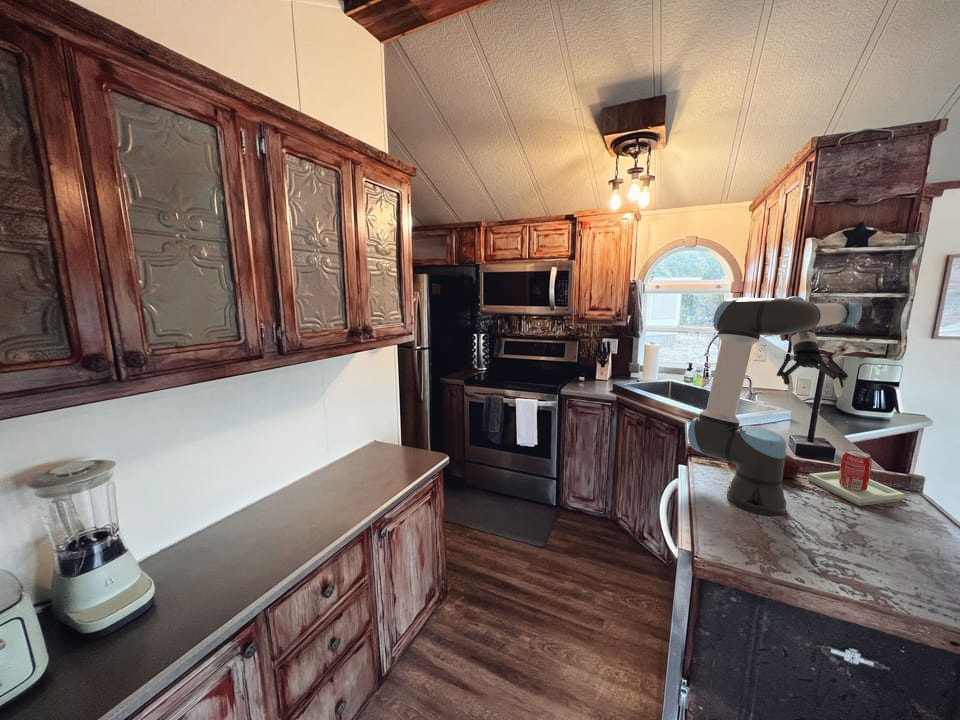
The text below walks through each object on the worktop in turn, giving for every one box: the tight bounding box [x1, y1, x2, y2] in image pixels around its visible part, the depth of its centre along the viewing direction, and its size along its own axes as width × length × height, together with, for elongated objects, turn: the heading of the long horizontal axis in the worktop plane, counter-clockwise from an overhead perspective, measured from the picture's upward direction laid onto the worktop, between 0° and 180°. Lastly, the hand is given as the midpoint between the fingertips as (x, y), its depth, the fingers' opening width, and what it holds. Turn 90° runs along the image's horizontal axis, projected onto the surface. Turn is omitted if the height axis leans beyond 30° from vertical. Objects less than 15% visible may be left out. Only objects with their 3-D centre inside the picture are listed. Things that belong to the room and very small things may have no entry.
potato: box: [783, 454, 801, 478], centre depth 135 cm, size 12×11×8 cm
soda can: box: [839, 449, 873, 491], centre depth 124 cm, size 7×7×12 cm
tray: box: [807, 470, 905, 507], centre depth 125 cm, size 16×16×2 cm
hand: (815, 393), depth 135 cm, fingers open, 13 cm apart
